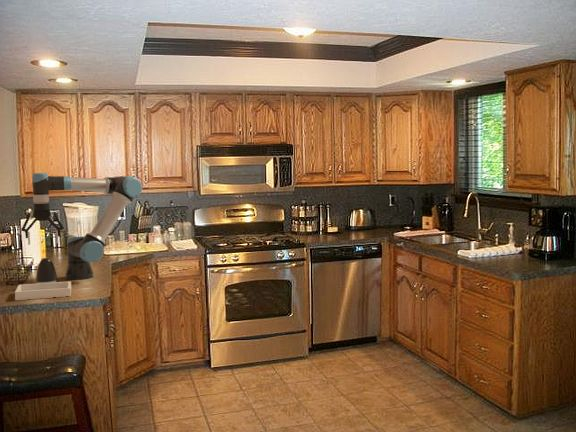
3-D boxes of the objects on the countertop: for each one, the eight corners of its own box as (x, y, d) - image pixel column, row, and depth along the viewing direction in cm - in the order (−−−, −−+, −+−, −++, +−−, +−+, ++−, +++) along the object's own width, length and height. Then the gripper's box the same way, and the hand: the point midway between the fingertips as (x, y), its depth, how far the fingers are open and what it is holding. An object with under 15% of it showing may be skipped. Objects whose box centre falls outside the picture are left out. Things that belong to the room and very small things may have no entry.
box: (71, 289, 304) (71, 281, 303) (70, 296, 286) (70, 288, 286) (19, 292, 296) (18, 284, 295) (15, 300, 278) (14, 292, 278)
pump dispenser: (53, 284, 317) (51, 255, 316) (60, 286, 309) (59, 258, 308) (33, 286, 310) (32, 257, 309) (40, 289, 303) (39, 260, 301)
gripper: (67, 201, 314) (69, 241, 315) (15, 203, 306) (18, 244, 308) (66, 202, 306) (68, 243, 308) (14, 204, 299) (16, 245, 301)
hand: (43, 243), depth 308 cm, fingers open, 13 cm apart
